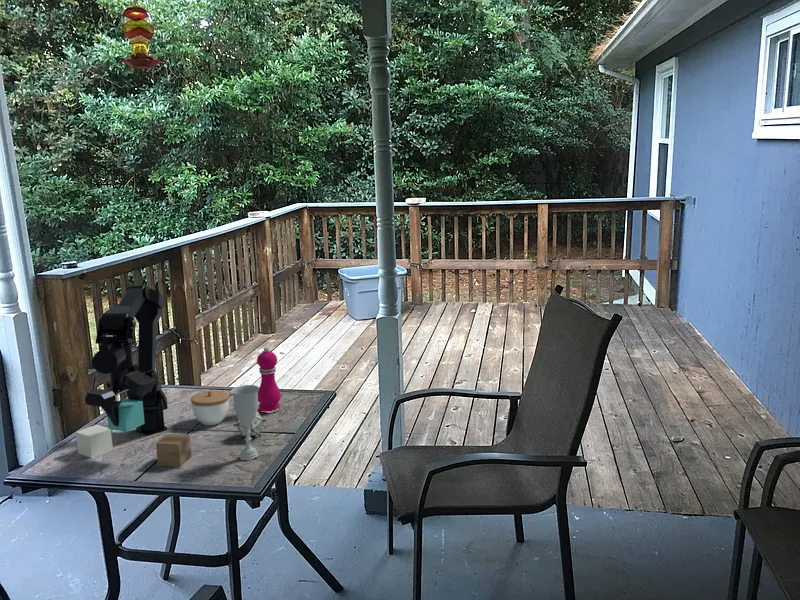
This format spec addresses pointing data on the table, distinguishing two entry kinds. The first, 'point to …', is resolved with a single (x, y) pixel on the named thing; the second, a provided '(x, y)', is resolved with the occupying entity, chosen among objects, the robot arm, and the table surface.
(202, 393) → the lidded jar
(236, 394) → the chalice
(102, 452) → the cream block
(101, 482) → the table surface
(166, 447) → the walnut block
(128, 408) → the teal block
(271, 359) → the pepper mill
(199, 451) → the table surface
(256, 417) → the game die
